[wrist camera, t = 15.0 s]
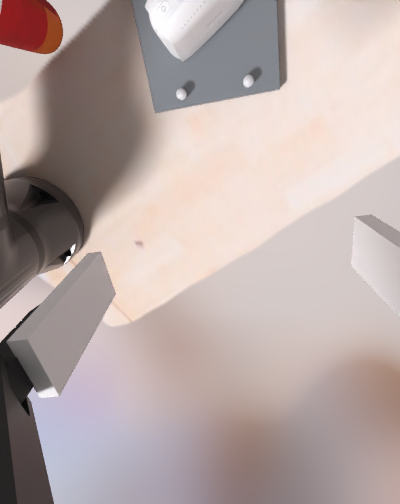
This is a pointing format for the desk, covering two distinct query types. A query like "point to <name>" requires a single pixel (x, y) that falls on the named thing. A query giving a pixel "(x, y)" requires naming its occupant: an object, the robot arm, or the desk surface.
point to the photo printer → (188, 22)
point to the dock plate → (214, 59)
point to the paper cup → (30, 25)
